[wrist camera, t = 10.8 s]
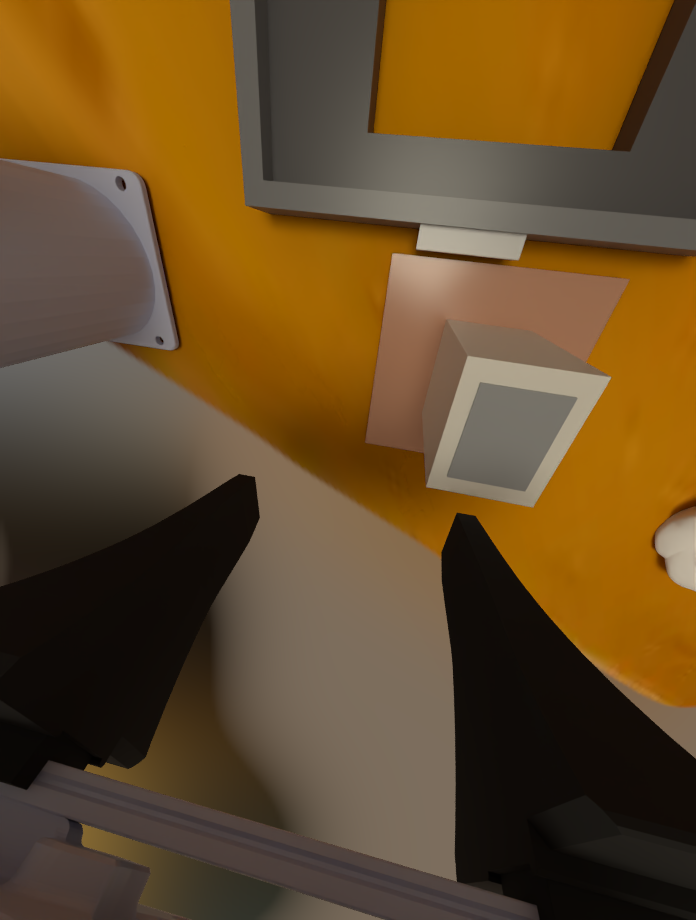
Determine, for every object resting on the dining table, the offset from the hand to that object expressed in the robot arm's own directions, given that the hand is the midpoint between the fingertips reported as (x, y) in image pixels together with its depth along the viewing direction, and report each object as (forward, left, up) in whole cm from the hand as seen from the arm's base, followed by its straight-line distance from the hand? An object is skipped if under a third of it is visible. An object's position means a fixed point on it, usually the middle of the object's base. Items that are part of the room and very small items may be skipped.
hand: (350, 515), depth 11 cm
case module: (+5, +3, -9) cm, 10 cm away
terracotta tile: (+5, +3, -9) cm, 11 cm away
